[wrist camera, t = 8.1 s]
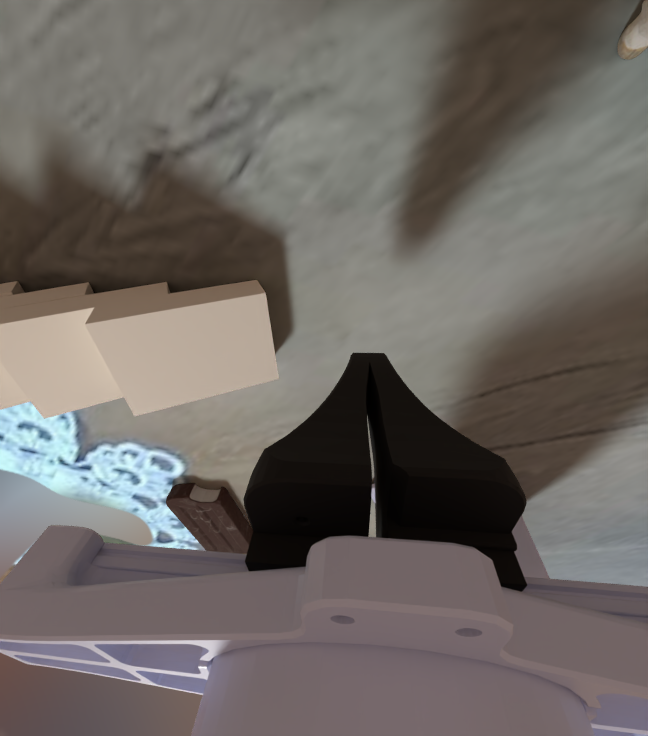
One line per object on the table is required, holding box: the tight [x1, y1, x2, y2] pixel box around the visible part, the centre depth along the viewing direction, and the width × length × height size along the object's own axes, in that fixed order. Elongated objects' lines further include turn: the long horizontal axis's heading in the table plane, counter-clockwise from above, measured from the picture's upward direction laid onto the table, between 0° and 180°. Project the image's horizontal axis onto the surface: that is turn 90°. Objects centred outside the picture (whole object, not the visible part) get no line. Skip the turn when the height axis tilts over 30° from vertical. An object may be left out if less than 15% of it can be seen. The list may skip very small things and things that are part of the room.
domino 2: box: [0, 282, 170, 419], centre depth 15 cm, size 2×5×7 cm
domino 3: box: [85, 280, 279, 416], centre depth 15 cm, size 2×5×7 cm
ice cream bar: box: [166, 483, 253, 554], centre depth 30 cm, size 5×2×15 cm
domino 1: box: [0, 282, 94, 410], centre depth 15 cm, size 2×5×7 cm
